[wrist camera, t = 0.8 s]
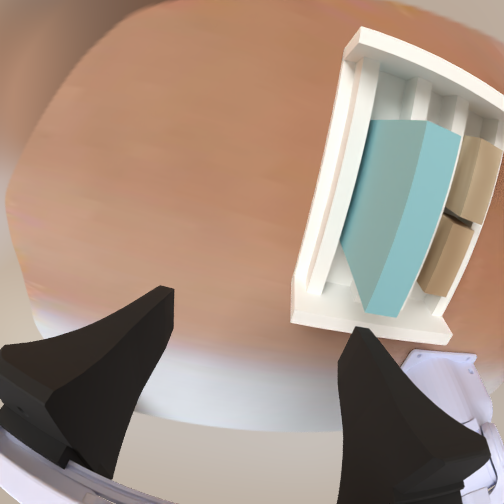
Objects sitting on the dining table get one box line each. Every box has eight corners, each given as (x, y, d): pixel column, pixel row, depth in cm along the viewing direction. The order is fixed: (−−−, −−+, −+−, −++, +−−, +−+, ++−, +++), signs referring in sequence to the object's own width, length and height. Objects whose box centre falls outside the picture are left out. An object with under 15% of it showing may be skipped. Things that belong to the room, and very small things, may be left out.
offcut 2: (454, 216, 17) (474, 231, 15) (430, 276, 19) (445, 297, 17) (433, 208, 17) (453, 223, 15) (410, 271, 19) (424, 292, 17)
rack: (489, 111, 14) (530, 115, 10) (424, 307, 21) (446, 345, 17) (344, 48, 15) (361, 26, 10) (291, 281, 22) (290, 322, 17)
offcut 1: (474, 143, 15) (502, 150, 12) (456, 208, 17) (481, 225, 14) (453, 133, 15) (481, 138, 12) (435, 200, 17) (460, 216, 14)
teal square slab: (391, 127, 16) (461, 136, 8) (359, 241, 19) (396, 317, 11) (368, 119, 16) (427, 120, 8) (338, 236, 19) (364, 312, 12)
